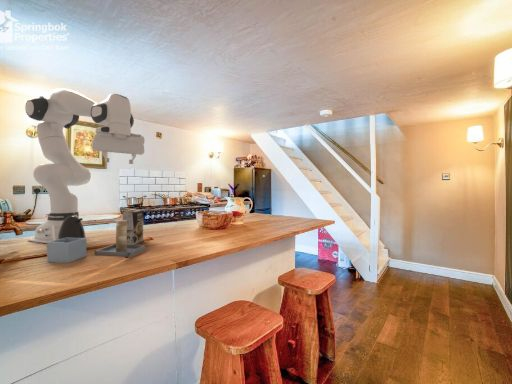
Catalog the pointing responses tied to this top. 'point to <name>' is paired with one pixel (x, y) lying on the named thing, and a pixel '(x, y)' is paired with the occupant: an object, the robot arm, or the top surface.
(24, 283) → the top surface
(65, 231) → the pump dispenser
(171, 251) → the top surface
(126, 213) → the coffee box
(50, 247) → the slate blue storage bin
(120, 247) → the dowel
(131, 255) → the tray
